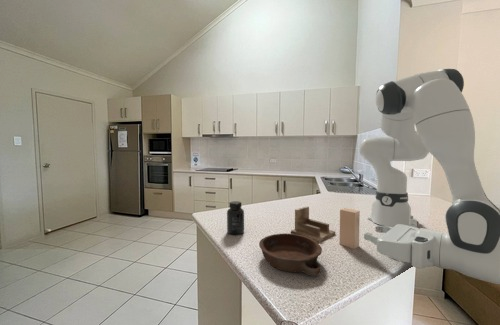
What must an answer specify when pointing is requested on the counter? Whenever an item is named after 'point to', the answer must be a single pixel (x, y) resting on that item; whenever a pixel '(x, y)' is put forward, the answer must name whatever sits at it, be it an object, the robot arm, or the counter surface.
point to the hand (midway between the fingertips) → (370, 231)
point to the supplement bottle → (235, 218)
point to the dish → (292, 253)
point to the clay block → (349, 228)
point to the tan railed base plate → (310, 226)
